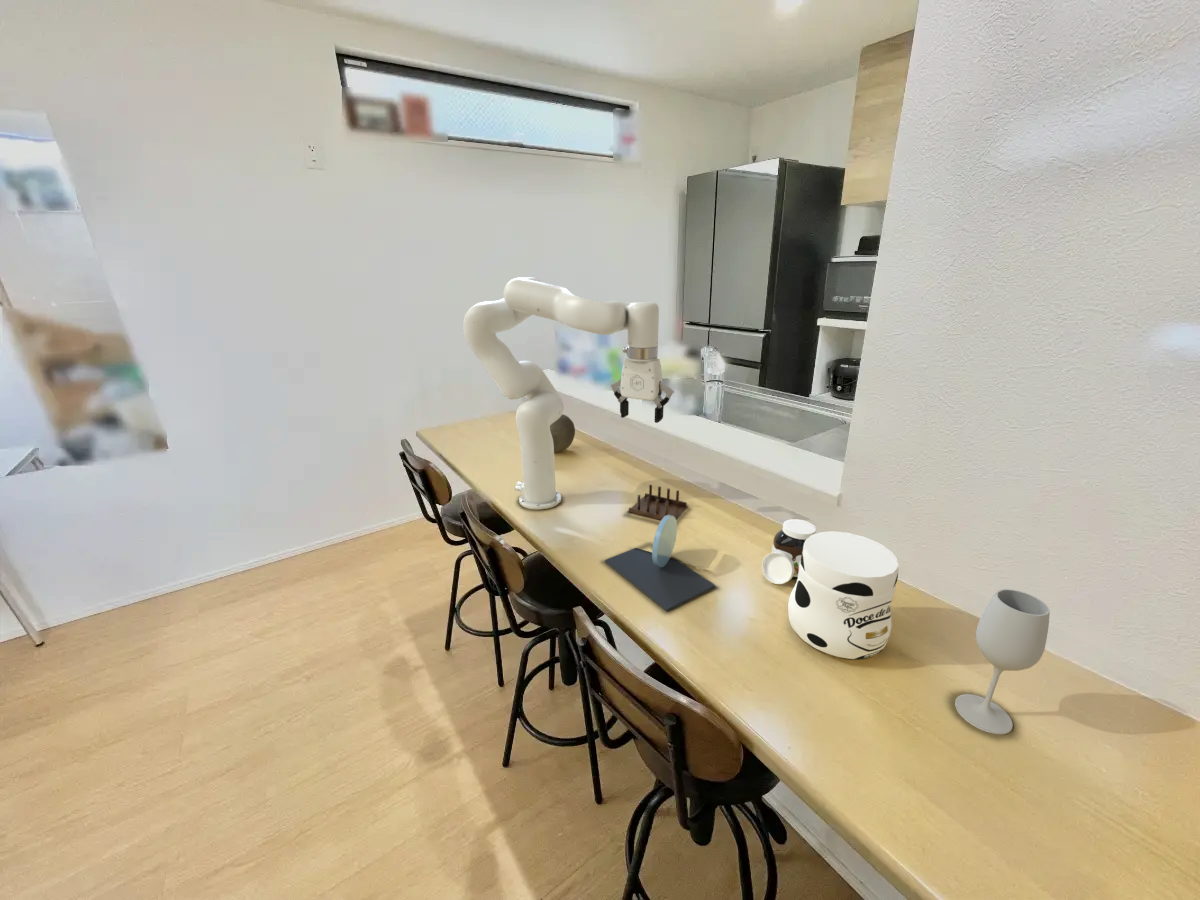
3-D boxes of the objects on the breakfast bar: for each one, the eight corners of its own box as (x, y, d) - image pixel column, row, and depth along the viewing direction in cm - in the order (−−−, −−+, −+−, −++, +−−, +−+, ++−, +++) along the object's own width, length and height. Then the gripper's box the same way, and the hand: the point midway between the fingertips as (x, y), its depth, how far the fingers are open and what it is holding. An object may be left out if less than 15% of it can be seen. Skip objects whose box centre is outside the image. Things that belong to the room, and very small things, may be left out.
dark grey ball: (533, 449, 190) (531, 411, 185) (567, 443, 196) (566, 407, 191) (545, 461, 178) (543, 421, 173) (581, 455, 184) (580, 416, 179)
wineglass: (941, 696, 80) (975, 587, 72) (985, 692, 80) (1023, 584, 73) (979, 737, 73) (1020, 621, 65) (1027, 733, 73) (1073, 618, 66)
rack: (626, 515, 139) (626, 496, 137) (644, 498, 149) (644, 480, 146) (673, 527, 132) (674, 507, 130) (688, 509, 142) (689, 490, 140)
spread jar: (815, 566, 114) (822, 521, 110) (818, 594, 104) (827, 547, 100) (761, 557, 118) (766, 513, 114) (759, 584, 108) (765, 537, 104)
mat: (604, 562, 117) (604, 559, 117) (650, 544, 124) (650, 542, 124) (666, 611, 100) (666, 609, 100) (715, 587, 107) (715, 585, 107)
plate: (647, 562, 107) (661, 509, 109) (663, 568, 117) (676, 520, 120) (652, 564, 106) (667, 510, 109) (667, 570, 117) (680, 521, 119)
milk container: (882, 684, 82) (904, 594, 76) (775, 645, 91) (787, 561, 84) (888, 624, 96) (908, 543, 89) (795, 595, 104) (807, 520, 98)
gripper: (605, 353, 124) (605, 418, 130) (669, 358, 116) (666, 427, 122) (618, 349, 130) (618, 411, 136) (680, 353, 122) (677, 419, 128)
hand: (641, 418), depth 129 cm, fingers open, 9 cm apart
